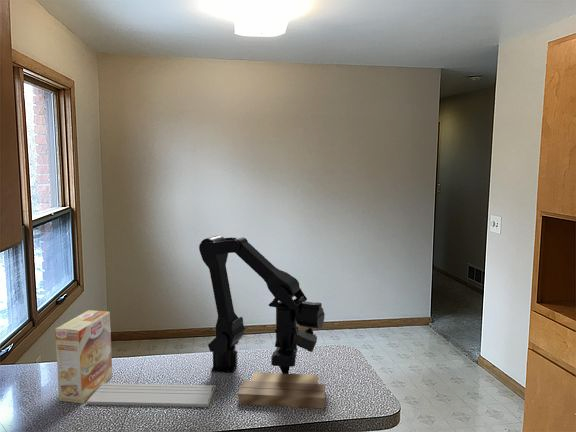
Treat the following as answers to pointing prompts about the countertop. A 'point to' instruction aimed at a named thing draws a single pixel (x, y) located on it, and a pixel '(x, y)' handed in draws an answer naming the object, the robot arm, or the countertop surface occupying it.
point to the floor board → (282, 394)
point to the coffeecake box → (83, 355)
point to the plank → (285, 378)
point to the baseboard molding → (153, 395)
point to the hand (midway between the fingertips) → (285, 376)
